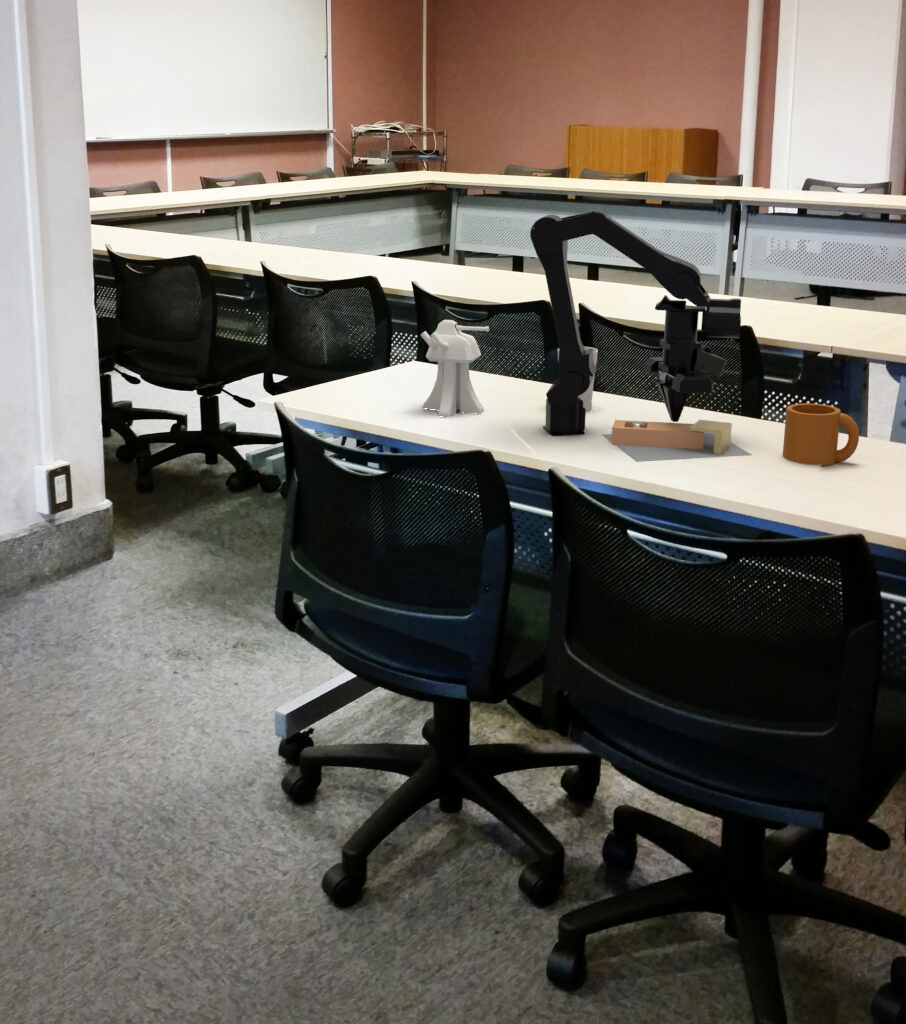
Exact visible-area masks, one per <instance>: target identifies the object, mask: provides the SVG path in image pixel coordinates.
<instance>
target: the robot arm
mask: <svg viewBox="0 0 906 1024" xmlns="http://www.w3.org/2000/svg"><path fill="white" fill-rule="evenodd" d="M529 235H530V236H529V237H530V240H531V242H532V246H533V248H534V251H535V254H536V256H537V258H538V260H539V262H540V264H541V266H542V268H543V271H544V274H545V279H546V284H547V289H548V295H549V300H550V305H551V310H552V311H551V312H552V315H553V321H554V326H555V327H554V328H555V333H556V336H557V343H558V349H559V361H558V360H557V363H558V365H557V373H558V374H557V375H558V378H557V380H555V381H554V382H553V383H552V384H551V386H550V387H549V388H548V391H547V392H546V394H545V395H546V400H545V426H544V425H543V426H542V429H543V430H544V431H545V432H546V433H547V434H549V436H551V437H558V436H559V437H563V436H565V437H567V436H580V435H581V436H582V435H586V432H585V430H586V413H587V412H586V409H585V408H584V407H583V400H581V399H580V398H578V397H579V396H580V395H582V394H583V393H584V392H586V391H587V389H588V388H589V386H590V384H591V382H592V380H593V377H594V373H595V374H596V371H597V370H598V367H597V365H596V366H595V364H594V361H593V349H592V348H593V347H592V348H591V349H588V350H585V348H584V347H585V346H584V344H583V343H582V340H581V335H580V330H579V325H578V320H577V319H578V318H577V314H576V313H577V312H576V308H575V303H574V296H573V293H572V292H573V290H572V287H571V282H570V276H569V271H568V270H569V269H568V266H567V265H568V264H567V263H568V241H571V240H573V239H574V240H575V239H577V238H582V237H585V236H591V235H594V236H595V237H597V238H598V239H600V240H601V241H603V242H604V243H606V244H607V245H609V246H611V247H612V248H613V249H616V250H617V251H618V252H620V253H621V254H623V256H625V257H627V258H629V259H631V260H632V261H633V262H635V263H636V264H637V265H639V266H640V267H642V268H644V269H645V270H647V272H649V273H650V274H651V276H653V277H654V279H656V281H657V283H659V285H660V286H662V287H663V288H664V289H665V291H667V292H668V293H669V294H670V295H671V296H672V297H674V298H676V299H678V300H676V299H675V300H674V299H670V298H669V297H668V296H667V294H666V295H664V296H663V297H662V299H661V300H660V301H659V302H657V303H656V304H655V307H654V309H655V311H665V315H664V317H665V318H664V334H663V339H659V346H661V347H663V349H662V356H660V357H659V356H657V357H656V356H655V357H654V356H653V357H649V358H648V359H647V360H645V362H644V368H643V369H644V374H646V375H648V376H652V375H654V373H659V379H656V380H654V382H655V384H656V386H657V387H658V390H659V393H660V395H661V397H662V400H663V402H664V405H665V408H666V411H667V414H668V415H669V418H670V421H671V422H672V423H679V421H680V419H681V415H682V413H683V410H684V408H685V405H686V403H687V401H688V398H689V396H690V395H691V394H704V393H705V394H706V393H707V394H708V393H713V392H714V384H715V383H714V382H715V381H714V380H713V378H712V377H711V376H710V375H708V374H706V373H704V372H702V370H703V371H706V372H708V373H712V374H713V375H714V376H716V377H722V375H723V372H724V370H725V367H726V365H727V362H728V360H727V359H725V358H723V357H720V356H719V355H717V354H713V348H711V347H709V346H707V345H704V344H701V342H698V341H697V340H698V329H699V327H698V325H699V324H698V323H699V313H700V312H701V313H702V314H701V315H702V316H701V327H700V328H701V330H700V331H701V332H704V334H706V335H707V336H706V337H707V338H724V339H725V338H726V339H740V336H741V326H742V325H741V324H742V315H741V309H742V308H741V307H742V306H741V305H742V300H741V298H730V299H728V298H727V299H724V298H711V296H710V295H709V291H708V292H707V290H706V289H705V288H704V286H703V284H702V283H701V281H702V276H701V271H700V269H699V268H698V267H697V266H696V265H695V264H694V263H691V262H689V261H686V260H684V259H682V258H680V257H677V256H675V255H671V254H669V253H666V252H664V251H662V250H659V249H658V248H657V247H655V246H653V245H652V244H650V243H649V242H647V241H646V240H645V239H643V238H641V237H640V236H639V235H638V234H636V233H634V232H632V231H631V230H630V229H628V227H625V226H623V224H621V223H620V222H618V221H617V220H615V219H613V218H612V217H610V216H609V215H608V214H607V212H605V211H604V210H602V209H593V210H591V211H589V212H585V213H580V214H573V215H570V216H565V217H564V216H563V217H560V216H559V215H556V214H547V215H544V216H542V217H540V218H539V219H537V220H536V221H534V223H533V224H532V226H531V228H530V234H529ZM687 300H688V301H689V302H691V304H693V305H688V304H687ZM594 378H595V377H594Z"/></svg>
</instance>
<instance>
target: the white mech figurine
mask: <svg viewBox="0 0 906 1024" xmlns="http://www.w3.org/2000/svg"><path fill="white" fill-rule="evenodd" d="M462 331H476V332H479V331H480V332H484V331H485V333H488V332H489V331H490V327H489V326H472V325H471V326H468V325H467V326H466V325H458V322H457V321H455V320H452V319H443V320H442V321H441V322H439V323H438V324H437V328H436V329H435V331H433V332H432V334H430V335H429V333H428V332H427V331H426V330H425V331H423V332H421V334H420V337H421V339H423V340H424V342H425V343H426V344H427V345H428V349H427V352H426V355H425V357H426V359H427V360H428V361H429V362H435V363H436V362H437V373H436V374H437V375H436V380H435V382H434V386H433V388H432V391H431V392H430V394H429V396H428V397H427V399H426V401H424V403H423V405H422V409H423V408H428V409H436V410H439V411H437V412H438V416H443V417H450V416H452V415H453V414H455V413H456V414H459V413H458V412H464V413H463V414H467V413H477V414H476V415H479V414H480V415H482V414H483V413H484V412H485V409H484V406H483V405H482V403H481V402H480V399H479V398H478V397H477V394H476V392H475V390H474V387H473V385H472V382H471V379H470V378H471V377H470V364H471V363H472V362H474V361H475V360H478V358H480V356H482V353H481V350H480V348H479V347H480V346H479V345H478V343H477V340H476V339H475V336H473V335H471V334H467V333H464V332H462ZM482 412H483V413H482ZM481 413H482V414H481ZM456 414H455V415H456ZM453 416H454V415H453ZM453 416H452V417H453ZM450 418H451V417H450Z"/></svg>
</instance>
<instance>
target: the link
mask: <svg viewBox="0 0 906 1024" xmlns="http://www.w3.org/2000/svg"><path fill="white" fill-rule="evenodd" d="M635 422H639V423H643V428H632V423H635ZM693 424H694V423H682V422H680V423H679V422H664V421H663V422H661V421H645V420H644V421H641V420H625V419H623V420H622V419H615V420H614V423H613V425H612V428H611V434H612V442H611V445H614V444H617V445H635V446H653V447H670V448H688V449H703V444H704V432H700V431H692V430H690V426H692V425H693Z"/></svg>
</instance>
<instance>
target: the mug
mask: <svg viewBox="0 0 906 1024" xmlns="http://www.w3.org/2000/svg"><path fill="white" fill-rule="evenodd" d="M841 411H842V410H841V409H840V408H838V407H836V406H833V405H828V404H822V403H795V404H790V405H787V407H786V410H785V423H784V434H783V444H782V445H783V446H782V449H783V450H782V457H783V458H784V459H786V461H790V462H793V463H798V464H802V465H803V464H805V465H816V466H817V465H819V466H820V467H827V465H828V466H832V465H834V464H835V463H841V462H844V461H845V462H846V460H848V459H849V458H851V457H852V456H853V454H854V453H855V452H856V449H858V445H859V441H860V432H859V431H860V430H859V427H858V425H857V423H856V421H855V420H854V419H853V417H852V416H850V415H848V414H847V413H843V412H841ZM840 426H841V427H842V428H844V429H845V430H846V431H847V436H848V438H847V442H846V444H845V446H844V447H842V448H841V449H838V442H839V433H840V432H839V431H840ZM833 463H834V464H833Z"/></svg>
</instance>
